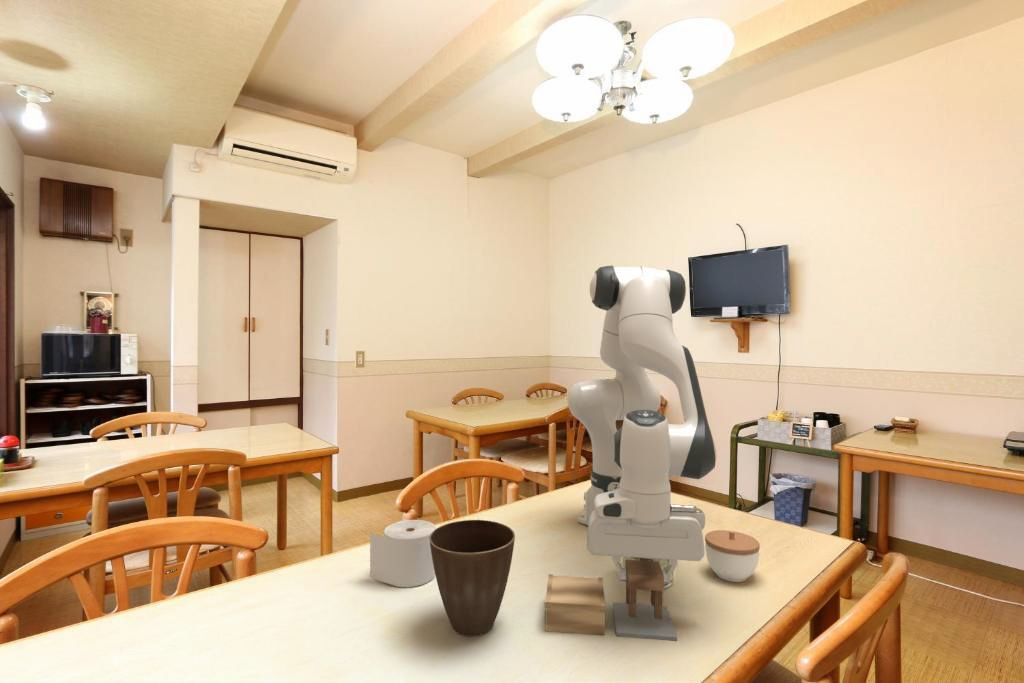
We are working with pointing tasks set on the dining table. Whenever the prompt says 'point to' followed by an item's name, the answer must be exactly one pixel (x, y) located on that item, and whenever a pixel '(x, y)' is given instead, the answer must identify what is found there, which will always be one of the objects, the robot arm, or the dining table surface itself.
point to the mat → (643, 622)
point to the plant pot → (472, 571)
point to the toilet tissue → (402, 554)
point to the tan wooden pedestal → (575, 605)
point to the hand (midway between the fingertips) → (643, 580)
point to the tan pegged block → (644, 584)
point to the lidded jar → (732, 554)
